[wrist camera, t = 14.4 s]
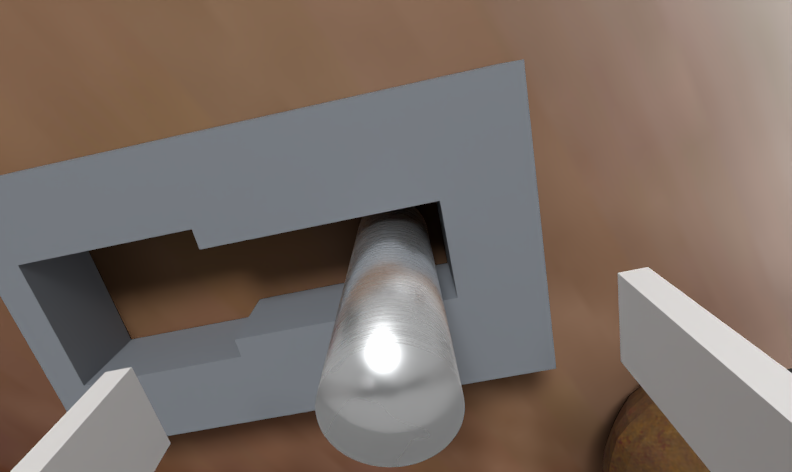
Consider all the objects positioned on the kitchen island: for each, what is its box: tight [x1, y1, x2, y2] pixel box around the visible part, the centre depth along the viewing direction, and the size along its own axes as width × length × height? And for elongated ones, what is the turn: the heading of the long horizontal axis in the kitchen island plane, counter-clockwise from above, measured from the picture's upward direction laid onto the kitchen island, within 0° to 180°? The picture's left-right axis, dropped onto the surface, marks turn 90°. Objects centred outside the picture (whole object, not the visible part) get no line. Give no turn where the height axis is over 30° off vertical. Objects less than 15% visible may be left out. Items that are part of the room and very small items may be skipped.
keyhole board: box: [0, 60, 556, 436], centre depth 21 cm, size 24×14×4 cm, turn 102°
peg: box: [315, 206, 465, 467], centre depth 17 cm, size 4×4×13 cm
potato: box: [602, 387, 710, 472], centre depth 23 cm, size 7×12×7 cm, turn 170°
